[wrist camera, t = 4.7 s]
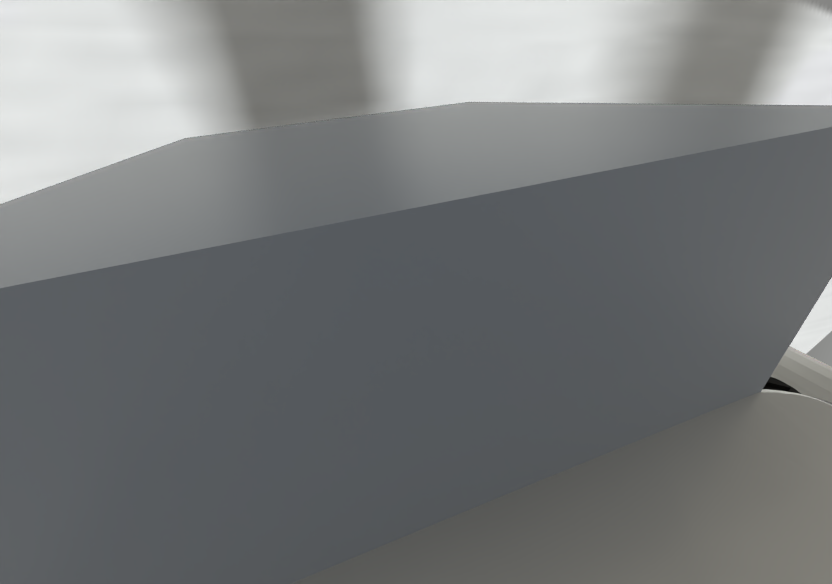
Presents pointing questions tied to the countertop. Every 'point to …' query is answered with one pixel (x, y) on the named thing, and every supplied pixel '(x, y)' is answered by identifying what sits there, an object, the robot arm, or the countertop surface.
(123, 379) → the grey flat-faced block
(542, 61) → the countertop surface
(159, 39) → the countertop surface
